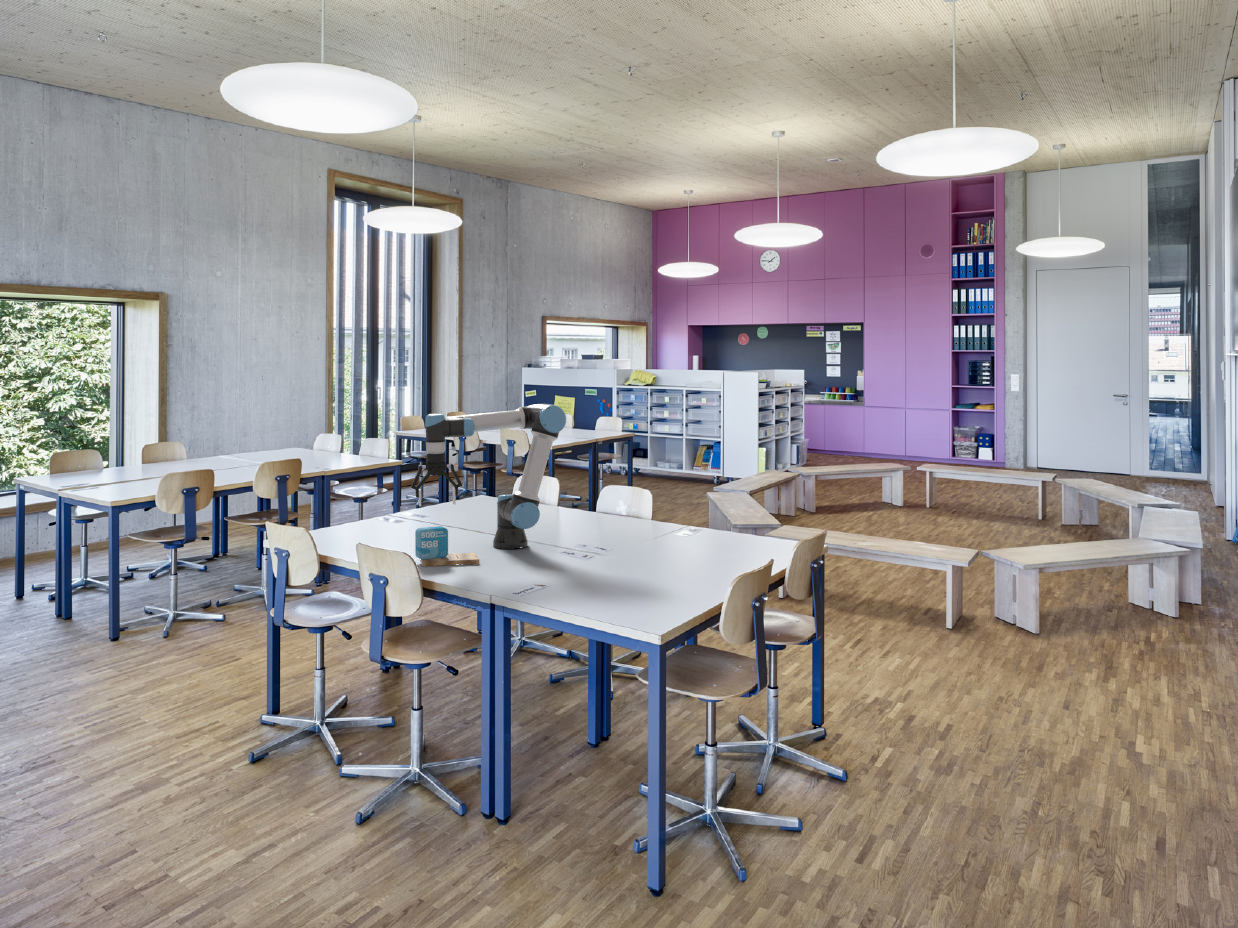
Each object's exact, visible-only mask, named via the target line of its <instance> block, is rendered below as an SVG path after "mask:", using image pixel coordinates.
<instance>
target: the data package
mask: <svg viewBox="0 0 1238 928" xmlns="http://www.w3.org/2000/svg"><path fill="white" fill-rule="evenodd" d="M414 538H415V540H414V541H415V546H414V547H415V548H414V549H415V551H414V552H415V556H416V558H418V559H421V560H425V559H435V558H445V557H446V556H447V555H448V554H449V529H448V528H446V527H444V526H442V525H441V526H428V527H419V528H417V529H415V537H414ZM421 560H420V561H421Z"/></svg>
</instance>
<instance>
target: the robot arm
mask: <svg viewBox="0 0 1238 928" xmlns="http://www.w3.org/2000/svg"><path fill="white" fill-rule="evenodd" d="M566 424H567V415H566V413H565V411H564V410H563V408H561V407H560V406H558V405H555V404H553V403H552V404H551V403H537V404H530V405H528V406H527V405H526V406H521V407H520V406H519V407H517V409H513V410H506V411H505V410H504V411H494V412H485V413H475V414H474V413H473V414H464V415H456V416H455V415H454V416H451V415H448V416H445V414H443V413H429V414H427V415H426V416H425V423H424V427H425V447H426V449H425V451H426V452H427V453H426V459H425V460H426V464H425V465H422V464H418V468H417V469H418V470H417V472H416V474H415V477H414V479H413V480H412V482H411V484H410V489H412V490H415V498H416V499H417V498H418V506H419V507H422V489H421V487H422V486H423V485H424V484H425V482H426V481H427V480H428V479H429V478H430V477H431V476H433V477H436V476H442V475H443V476H444V477H445V478H446V479H447V481H448V482H449V483H450V484H451V486H453V487H452V489H451V490H452V505H456V504H457V503H456V497H458V495H459V488H460V487H462V486H463V483H462V481H461V479H460V478H459V476H458V474H457V472H456V470H455V466H454V464H453V463H450V464H447V463H446V459H447V458H446V453H445V452H446V438H467V437H473V436H474V434H475V433H479V432H488V431H494V430H495V431H497V430H505V429H514V428H519V429H521V430H525V429H526V430H527V429H530V432H531V434H532V440H531V443H530V447H529V450H528V454H527V458H526V461H525V464H524V469H523V473H522V476H521V480H520V482H519V486H518V489H517V491H515V492H513V494H512V493H511V494H500V495H498V496H497V502H496V504H497V505H496V506H497V507H496V509H497V510H496V511H497V512H496V513H497V515H496V517H497V519H496V522H497V523H496V524H497V525H496V526H497V528H496V530H495V531H496V532H495V534H494V538H493V541H492V546H493V547H494V548H496V547H498V548H497V549H500V548H502V550H515V549H514V548H520V547H525V548H527V547H528V546H529V545H528V544H529V543H528V541H529V540H528V538H527V536H526V531H525V530H528V529H531V528H533V527H535V526H536V525H537V523H538V522H539V519H540V516H541V513H540V509H539V507H540V506H539V505H540V502H541V500H540V498H539V492H540V488H541V485H542V483H543V482H542V481H543V477H544V475H545V470H546V468H547V467H546V466H547V464H548V463H547V462H548V459H549V457H550V454H551V449H552V446H553V442H555V441H557V440H558V438H559V434H560V432H561V431H562V430H563V429H564V428H565V426H566ZM447 468H448V469H449V471H451V474H452V475H453V477H454V479H455V481H456V482H455V481H454V480H453V479H452V478H451V476H450V475H448V473H446V470H447ZM424 470H426V471H427V472H426V473H425V475H423V477H422V478H421V479H420V481H419V478H420V477H421V474H422V472H424ZM418 481H419V482H418ZM417 482H418V484H417ZM527 545H528V546H527ZM526 546H527V547H526ZM520 549H521V548H520Z"/></svg>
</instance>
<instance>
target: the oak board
mask: <svg viewBox="0 0 1238 928" xmlns="http://www.w3.org/2000/svg"><path fill="white" fill-rule="evenodd" d="M421 562H422V563H421ZM420 563H421V565H422V567H423V566H428V567H437V566H436V565H451V566H457V565H456V564H475V565H480V558H479V557H478V555H477V553H476V552H455V553H448V555H447V556H446V557H445V558H435V559H425V560H420Z"/></svg>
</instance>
